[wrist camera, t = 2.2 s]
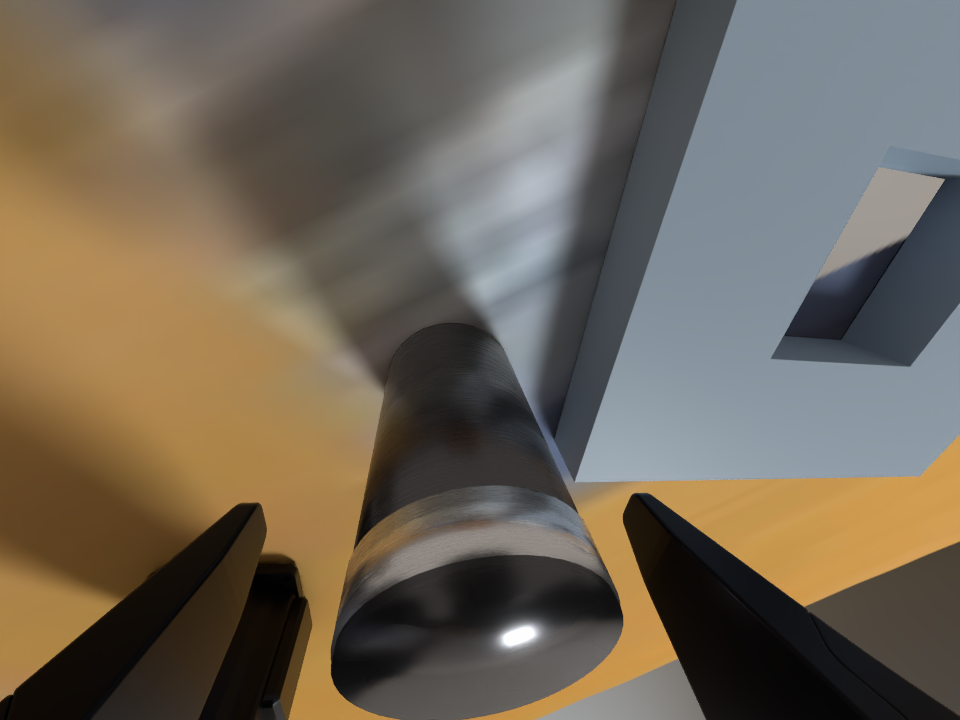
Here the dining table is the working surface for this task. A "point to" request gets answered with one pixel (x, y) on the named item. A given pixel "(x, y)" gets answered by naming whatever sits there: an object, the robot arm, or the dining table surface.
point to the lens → (466, 548)
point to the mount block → (776, 252)
